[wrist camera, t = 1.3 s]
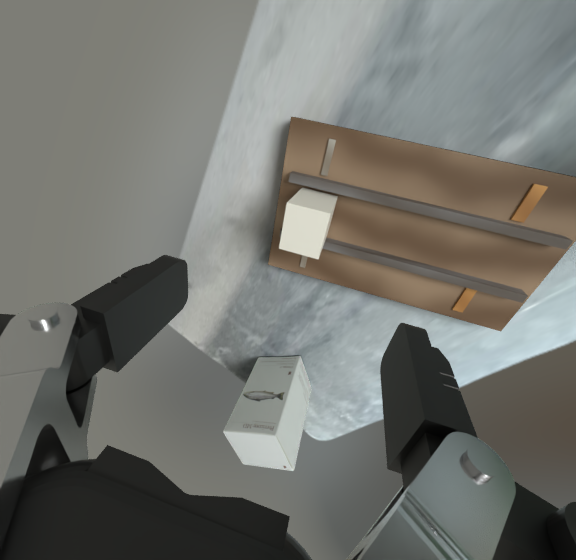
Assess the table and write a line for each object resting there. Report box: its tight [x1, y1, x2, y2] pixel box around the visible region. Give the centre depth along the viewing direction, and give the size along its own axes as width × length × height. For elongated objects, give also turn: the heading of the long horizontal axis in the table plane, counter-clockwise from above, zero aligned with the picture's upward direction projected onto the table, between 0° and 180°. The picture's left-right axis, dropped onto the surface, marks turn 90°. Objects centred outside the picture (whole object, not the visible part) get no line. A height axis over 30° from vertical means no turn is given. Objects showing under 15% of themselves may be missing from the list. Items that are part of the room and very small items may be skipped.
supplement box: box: [223, 356, 312, 471], centre depth 37 cm, size 7×7×13 cm
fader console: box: [268, 117, 576, 331], centre depth 26 cm, size 15×26×3 cm, turn 80°
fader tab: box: [279, 187, 338, 259], centre depth 24 cm, size 4×4×6 cm
